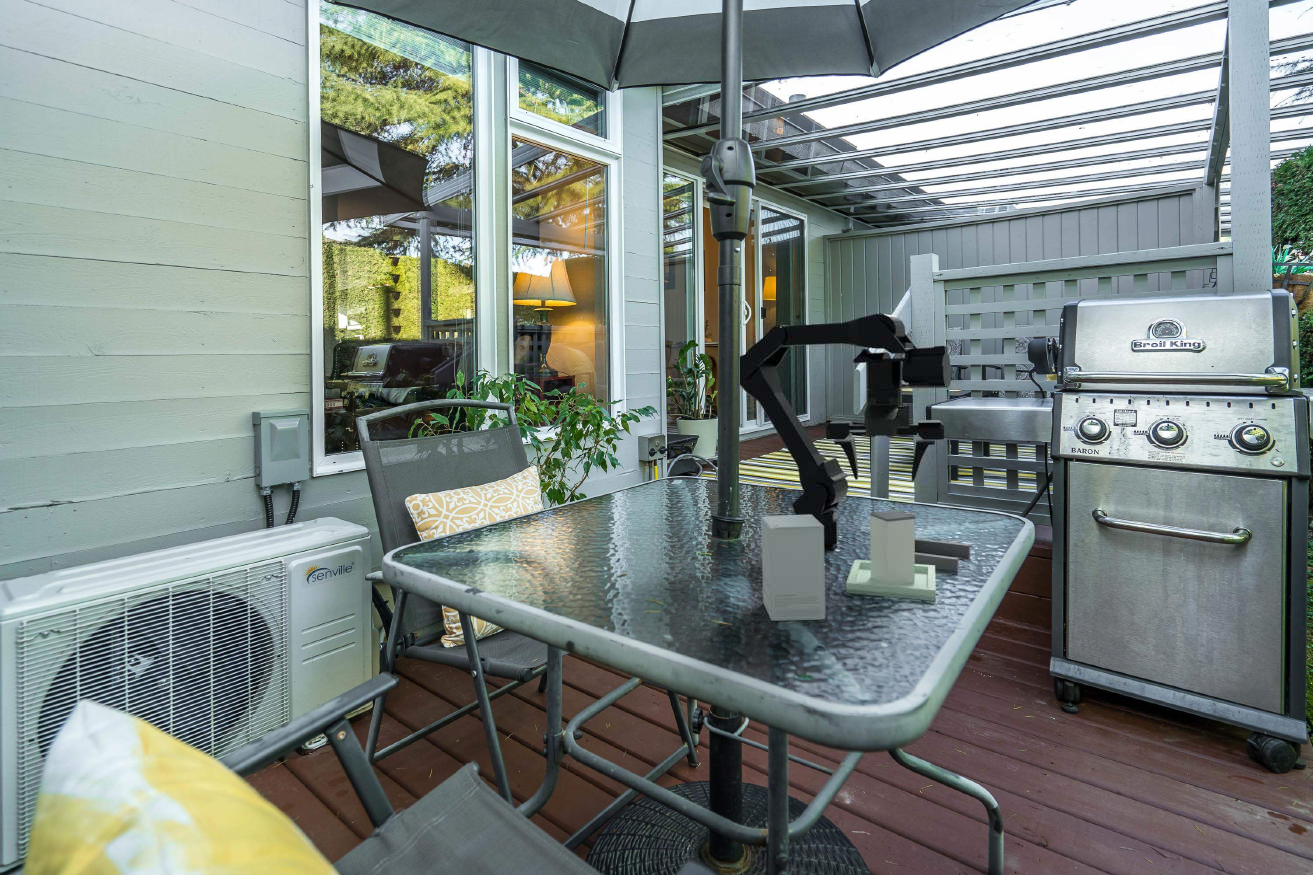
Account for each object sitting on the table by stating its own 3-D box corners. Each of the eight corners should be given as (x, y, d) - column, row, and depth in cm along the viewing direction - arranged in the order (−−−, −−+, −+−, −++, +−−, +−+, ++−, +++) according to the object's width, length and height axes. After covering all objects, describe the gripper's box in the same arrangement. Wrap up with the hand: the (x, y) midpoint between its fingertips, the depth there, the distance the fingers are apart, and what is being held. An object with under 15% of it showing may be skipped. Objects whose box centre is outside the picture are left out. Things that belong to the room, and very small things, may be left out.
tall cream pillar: (870, 577, 101) (870, 512, 100) (896, 573, 102) (896, 510, 101) (887, 586, 96) (887, 519, 95) (914, 582, 98) (914, 516, 97)
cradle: (892, 563, 109) (892, 551, 109) (908, 548, 117) (908, 537, 117) (957, 571, 103) (957, 559, 103) (970, 555, 111) (970, 544, 111)
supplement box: (826, 620, 86) (825, 525, 85) (770, 621, 87) (767, 527, 85) (814, 600, 94) (813, 513, 92) (762, 602, 94) (760, 515, 93)
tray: (846, 592, 96) (846, 582, 96) (854, 568, 107) (854, 559, 107) (935, 600, 91) (935, 590, 91) (934, 574, 102) (935, 565, 102)
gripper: (820, 392, 108) (822, 486, 110) (944, 389, 101) (944, 490, 102) (829, 389, 118) (831, 475, 120) (943, 386, 111) (943, 478, 113)
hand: (884, 479), depth 113 cm, fingers open, 9 cm apart
